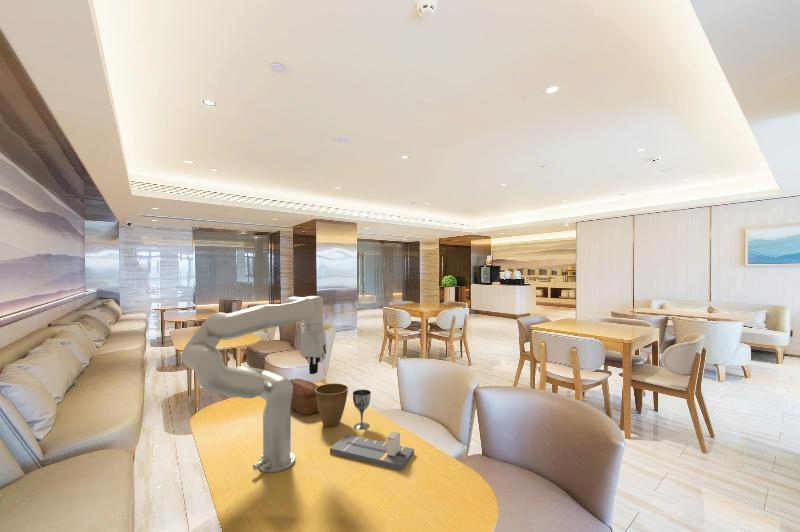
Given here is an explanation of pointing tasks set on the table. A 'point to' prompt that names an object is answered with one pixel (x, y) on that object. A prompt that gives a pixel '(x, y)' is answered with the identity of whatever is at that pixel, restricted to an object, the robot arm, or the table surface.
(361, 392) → the wine glass
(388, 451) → the fader tab
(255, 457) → the table surface
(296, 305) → the robot arm
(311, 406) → the bread
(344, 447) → the console
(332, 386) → the plant pot
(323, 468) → the table surface
